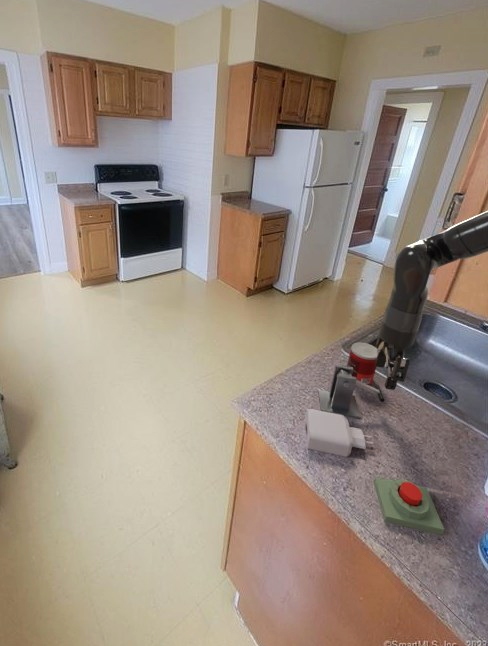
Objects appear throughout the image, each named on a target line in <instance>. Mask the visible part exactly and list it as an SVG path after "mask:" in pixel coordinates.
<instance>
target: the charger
mask: <svg viewBox="0 0 488 646" xmlns="http://www.w3.org/2000/svg"><path fill="white" fill-rule="evenodd" d="M304 426H305V427H306V433H305V437H306V449H307V450H311V451H317V452H321V453H326V454H331V455H335V456H340V457H345V458H348V456H350V455H351V452H352V448H358V449H362V450H366V444H368V445H374V442H373V441H368V440H366V439H365V438H368V439H372V438H373V437H372V436H371V435H367V434H364V431H363V430H362V429H361V428H358V427H352V426H350V424H349V419H348V417H346V416H344V415H340V414H335V413H329V412H324V411H321V410H320V409H319V410H317V409H312V408H307V407H306V412H305V416H304Z"/></svg>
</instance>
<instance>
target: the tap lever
mask: <svg viewBox="0 0 488 646" xmlns="http://www.w3.org/2000/svg"><path fill="white" fill-rule="evenodd" d="M338 374H340V375H346V376H352V375H351V373H348V372H346V371H344V370H342V369H341V370H340V372H339V373H338ZM338 374H337V377H338ZM355 387H358V388H360V389H363V390H365V391H367V392H369V393H371V394H374V395H376V396H377V397H378V399H379V402H381V403H385V402H386V399H385V397H384V394H383V391H382V389H381V387H380V385H378V384H376V385H375V386H374V387H373V386H371V385H366V384H364V383H362V382H360V381H358V380H356V384H355Z"/></svg>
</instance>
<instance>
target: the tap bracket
mask: <svg viewBox="0 0 488 646" xmlns="http://www.w3.org/2000/svg"><path fill="white" fill-rule="evenodd" d="M341 369H342V370H344V371H346V372H348V373H351V375H352V373H353V367H348V366H347V365H341V364H335V366H334V370H333V374H332V379H331V384H330V388H329V390H325V389H320V388H319V389H317V395H318V401H319V408H320V409H319V410H320V411H324V412H329V413H335V414H340V415H344V416H345V417H346V418H353V419H357V420H361V419H362V416H361V412H360V409H359V405H358V403H357V399H356V395H354V393H355V388H356V385H355V384H356V380H357V379H356V377H352V376H346V375H340V374H338V373H339V372H340V370H341ZM337 374H338V377H337Z"/></svg>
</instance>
